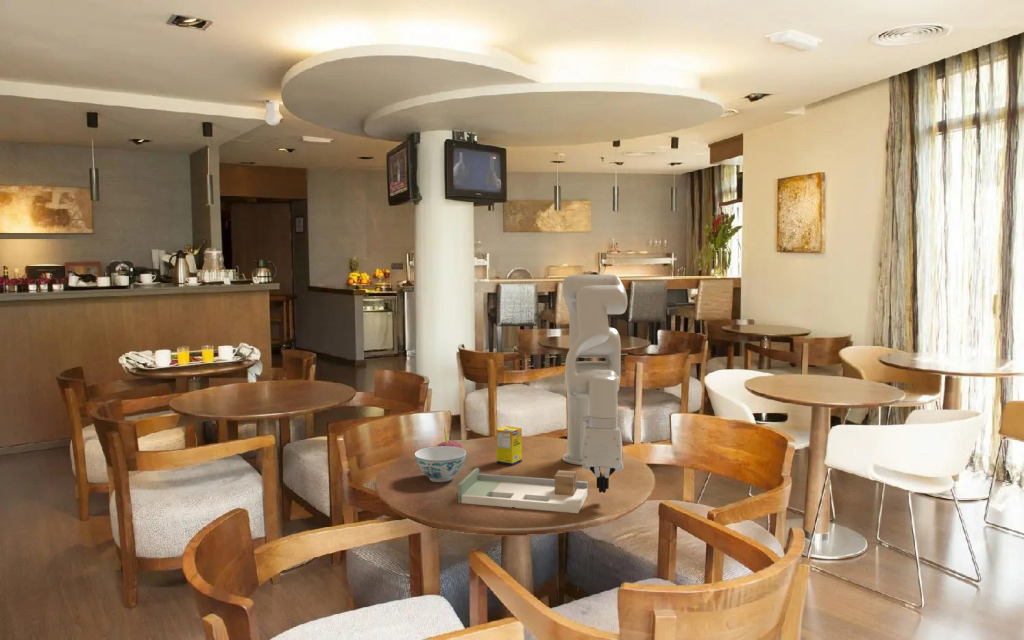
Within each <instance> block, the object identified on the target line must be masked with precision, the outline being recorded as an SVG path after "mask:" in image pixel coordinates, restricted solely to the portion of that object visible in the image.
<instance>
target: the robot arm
mask: <svg viewBox="0 0 1024 640" xmlns="http://www.w3.org/2000/svg"><path fill="white" fill-rule="evenodd" d="M562 294H563V295H562V296H563V299H564V302H565V303H566V304H565V305H566V306H567V310H568V315H569V335H568V336H569V339H568V340H569V341H568V342H569V350H568V352H567V354H566V358H565V364H564V367H565V368H564V369H565V370H564V381H565V390H566V396H567V397H566V399H567V401H566V402H567V405H566V407H567V408H566V409H567V452H566V453H564V454H563V455H562V460H563V461H564V462H566V463H568V464H571V465H578V466H581V467H582V468H583V469H586V470H589V471H591V473H592V474H594V476H595V478H596V488H597V489H598V493H603V494H605V493H606V492H607V490H609V485H610V484H609V483H610V482H609V480H610V479H609V478H610V476H612V475H613V474H614V473H615V472H623V470H624V464H623V455H624V454H623V441H622V440H623V439H622V433H621V428H620V427H619V426H618V404H619V403H618V397H619V396H618V393H619V391H620V385H621V384H620V383H621V373H622V372H621V370H622V369H621V367H622V366H621V365H622V364H621V361H622V360H621V358H622V356H621V355H622V352H621V351H622V345H621V337H620V333H619V331H618V330H617V329H616V328H614V327H610V325H609V318H608V315H622V314H624V313H625V312H626V311H627V308H628V294H627V291H626V288H625V286H624V284H623V282H622V280H621V279H620V277H619V276H618V275H615V274H590V273H589V274H587V273H586V274H574V275H573V274H572V275H568V276H566V277H565V278H564V279H563V280H562ZM577 358H583V359H587V358H589V359H592V358H600V359H601V358H603V359H605V360H603V361H602V360H600V361H599V360H598V361H597V360H596V361H595V360H594V361H593V360H590V361H589V360H588V361H587V360H584V361H583V360H582V361H580V360H579V361H577ZM601 468H605V469H604V473H602V469H601Z"/></svg>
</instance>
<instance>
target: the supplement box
mask: <svg viewBox="0 0 1024 640" xmlns="http://www.w3.org/2000/svg"><path fill="white" fill-rule="evenodd" d="M522 430H523V429H522V427H516V426H510V425H505V426H503V427H499V428H497V429H496V431H495V433H496V436H495V438H496V439H495V440H496V463H497V464H500V463H501V464H502V465H506V464H507V465H508V466H515V465H516V464H520V463H521V462H522V461H523V449H522V448H523V441H522V440H523V438H522V437H523V436H522ZM514 464H515V465H514Z"/></svg>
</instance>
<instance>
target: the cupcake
mask: <svg viewBox="0 0 1024 640" xmlns="http://www.w3.org/2000/svg"><path fill="white" fill-rule="evenodd" d="M443 431H444V440H445V441H442V442H440V443H438V445H437V446H451V447H458V448H461V449H463V446H462V444H460V443H458V442H457V441H453V440H448V433H447V429H446V428H445V427H444V429H443Z"/></svg>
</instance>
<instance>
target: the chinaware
mask: <svg viewBox="0 0 1024 640" xmlns="http://www.w3.org/2000/svg"><path fill="white" fill-rule="evenodd" d="M466 456H467V451H466V450H465V449H463V448H462V449H461V448H458V447H451V446H438V445H436V446H431V447H425V448H421V449H418V450H417V451H415V453H414V457H415V458H414V459H415V462H416V464H417V467H418V468H419V469H420V471H421V472H422V473H423V474H424V475H426V476H427V477H428V478H429V479H428V480H430V481H431V482H434V483H446V482H449V481H451V480H453V476H455V475H456V474H457V473H458V472H459V471H460V470H461V469H462V467H463V466H464V463H465V460H466Z"/></svg>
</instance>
